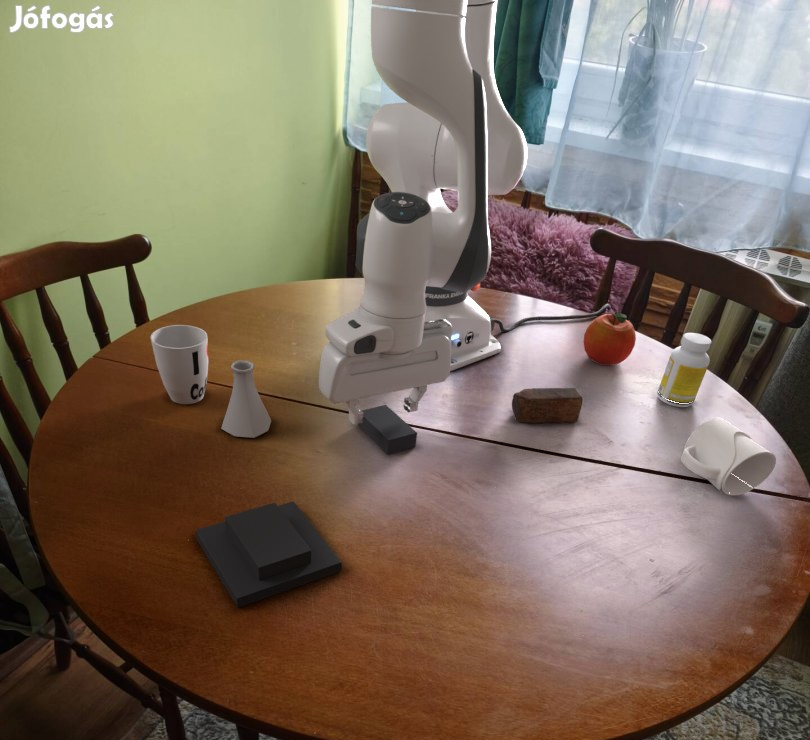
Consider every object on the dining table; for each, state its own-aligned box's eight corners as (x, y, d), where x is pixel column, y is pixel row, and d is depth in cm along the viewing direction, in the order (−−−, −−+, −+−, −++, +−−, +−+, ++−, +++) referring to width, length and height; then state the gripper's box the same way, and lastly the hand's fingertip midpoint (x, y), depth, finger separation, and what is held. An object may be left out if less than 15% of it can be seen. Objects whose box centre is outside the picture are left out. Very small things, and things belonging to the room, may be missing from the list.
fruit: (620, 351, 138) (635, 301, 131) (633, 373, 131) (650, 322, 124) (573, 347, 137) (586, 297, 131) (584, 369, 130) (599, 318, 123)
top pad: (384, 418, 110) (385, 404, 108) (415, 446, 104) (417, 432, 103) (357, 425, 108) (358, 411, 106) (387, 454, 102) (388, 440, 100)
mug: (718, 457, 110) (738, 413, 105) (762, 490, 104) (786, 446, 99) (659, 469, 106) (677, 424, 101) (701, 505, 100) (723, 459, 94)
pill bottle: (699, 408, 122) (725, 346, 115) (666, 409, 121) (690, 347, 113) (681, 390, 127) (704, 330, 120) (649, 391, 126) (671, 330, 118)
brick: (569, 411, 117) (575, 386, 114) (577, 423, 114) (584, 398, 111) (509, 412, 115) (514, 386, 112) (516, 424, 112) (521, 398, 109)
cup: (200, 413, 106) (193, 352, 99) (150, 403, 107) (140, 342, 100) (221, 388, 112) (216, 330, 106) (174, 380, 113) (166, 321, 106)
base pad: (293, 510, 90) (293, 501, 89) (341, 571, 82) (341, 562, 81) (196, 539, 84) (195, 529, 83) (237, 608, 76) (236, 598, 75)
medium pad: (275, 514, 87) (274, 502, 85) (311, 563, 81) (311, 550, 79) (225, 529, 84) (224, 516, 82) (259, 580, 78) (258, 567, 76)
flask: (279, 420, 106) (277, 360, 100) (256, 443, 101) (253, 382, 94) (237, 409, 108) (232, 349, 101) (212, 431, 102) (206, 369, 96)
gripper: (441, 309, 101) (430, 394, 110) (314, 327, 92) (313, 418, 101) (466, 326, 97) (452, 412, 106) (336, 346, 88) (332, 440, 97)
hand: (383, 416), depth 103 cm, fingers open, 8 cm apart
